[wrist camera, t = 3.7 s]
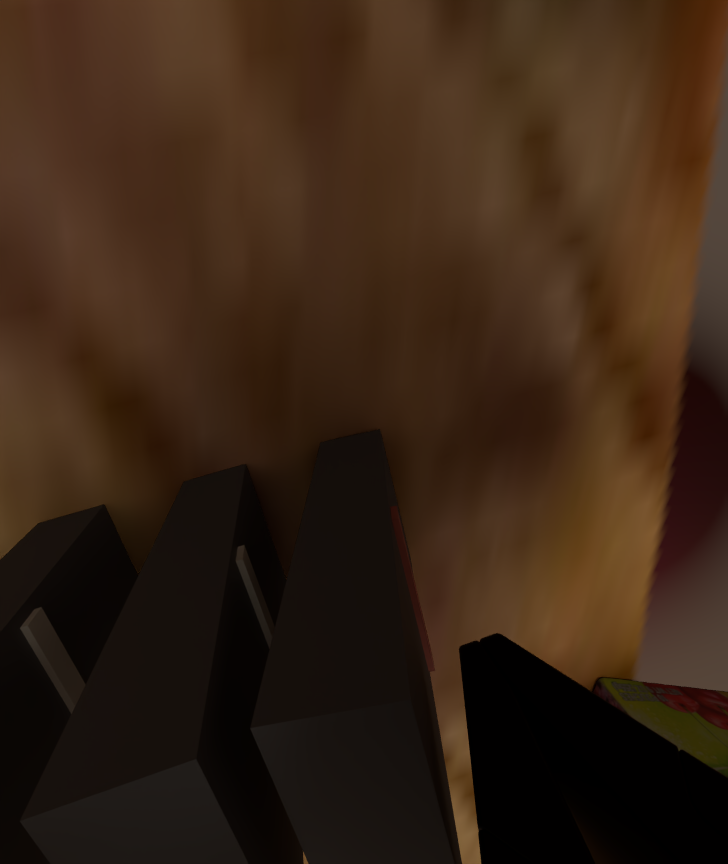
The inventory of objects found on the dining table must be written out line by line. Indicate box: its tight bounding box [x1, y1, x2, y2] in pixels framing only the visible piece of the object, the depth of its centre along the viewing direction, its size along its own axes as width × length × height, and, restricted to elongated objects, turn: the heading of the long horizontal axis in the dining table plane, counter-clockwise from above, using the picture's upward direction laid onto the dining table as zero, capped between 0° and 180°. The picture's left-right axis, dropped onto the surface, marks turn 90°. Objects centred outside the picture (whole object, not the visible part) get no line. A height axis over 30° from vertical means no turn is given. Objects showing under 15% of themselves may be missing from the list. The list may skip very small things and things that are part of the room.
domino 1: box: [0, 505, 138, 864], centre depth 10 cm, size 2×5×10 cm, turn 13°
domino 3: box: [250, 429, 462, 864], centre depth 11 cm, size 2×5×10 cm, turn 14°
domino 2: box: [20, 464, 303, 864], centre depth 11 cm, size 2×5×10 cm, turn 13°
